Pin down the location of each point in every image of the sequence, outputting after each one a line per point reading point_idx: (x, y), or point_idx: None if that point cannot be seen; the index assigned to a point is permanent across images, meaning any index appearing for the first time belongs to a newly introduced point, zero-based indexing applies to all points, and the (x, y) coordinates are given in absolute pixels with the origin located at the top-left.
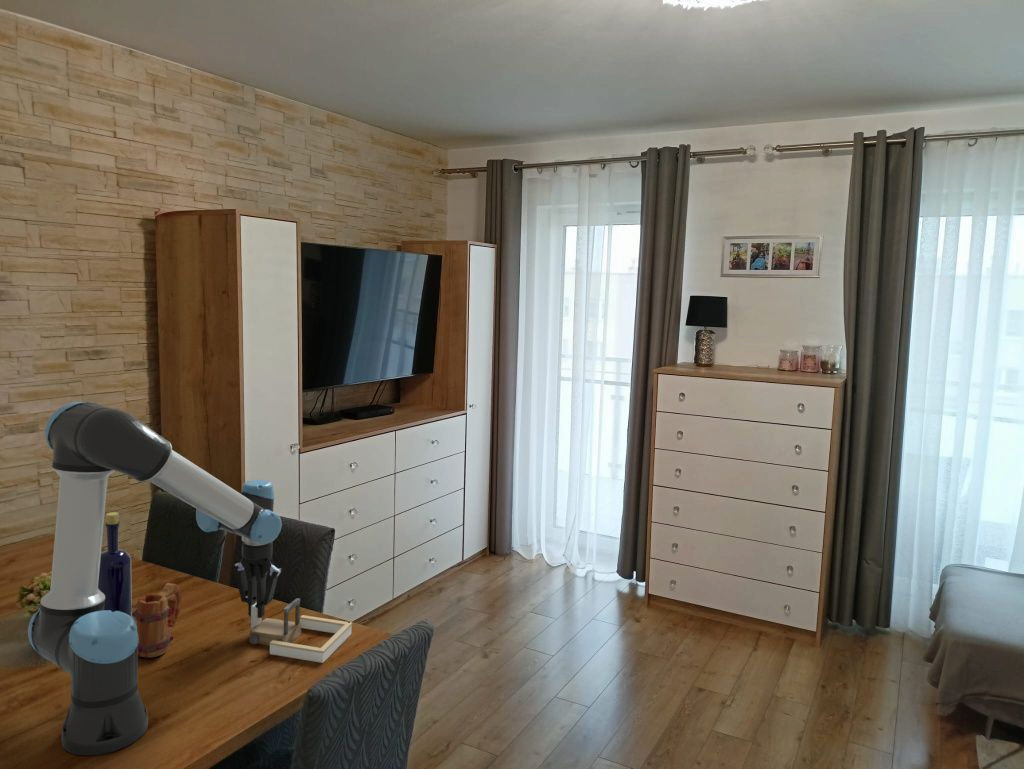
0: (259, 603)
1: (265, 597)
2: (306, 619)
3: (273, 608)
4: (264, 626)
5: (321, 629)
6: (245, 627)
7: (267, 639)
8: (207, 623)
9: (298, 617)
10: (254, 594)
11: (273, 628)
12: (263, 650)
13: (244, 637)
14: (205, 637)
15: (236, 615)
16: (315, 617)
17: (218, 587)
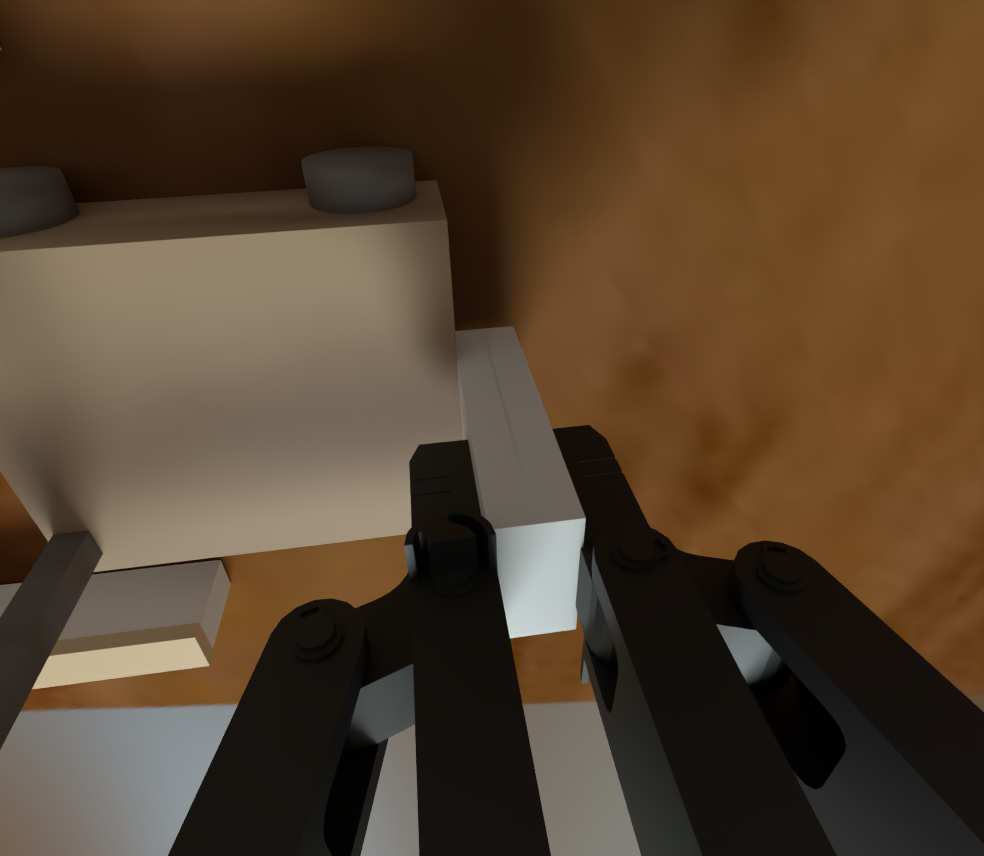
0: (440, 599)
1: (298, 763)
2: (128, 635)
3: (580, 656)
4: (356, 382)
5: (8, 594)
6: (633, 411)
7: (195, 215)
8: (962, 350)
9: (14, 610)
10: (630, 743)
11: (223, 383)
12: (139, 45)
13: (548, 255)
14: (932, 100)
15: (776, 519)
16: (67, 679)
17: (969, 683)
